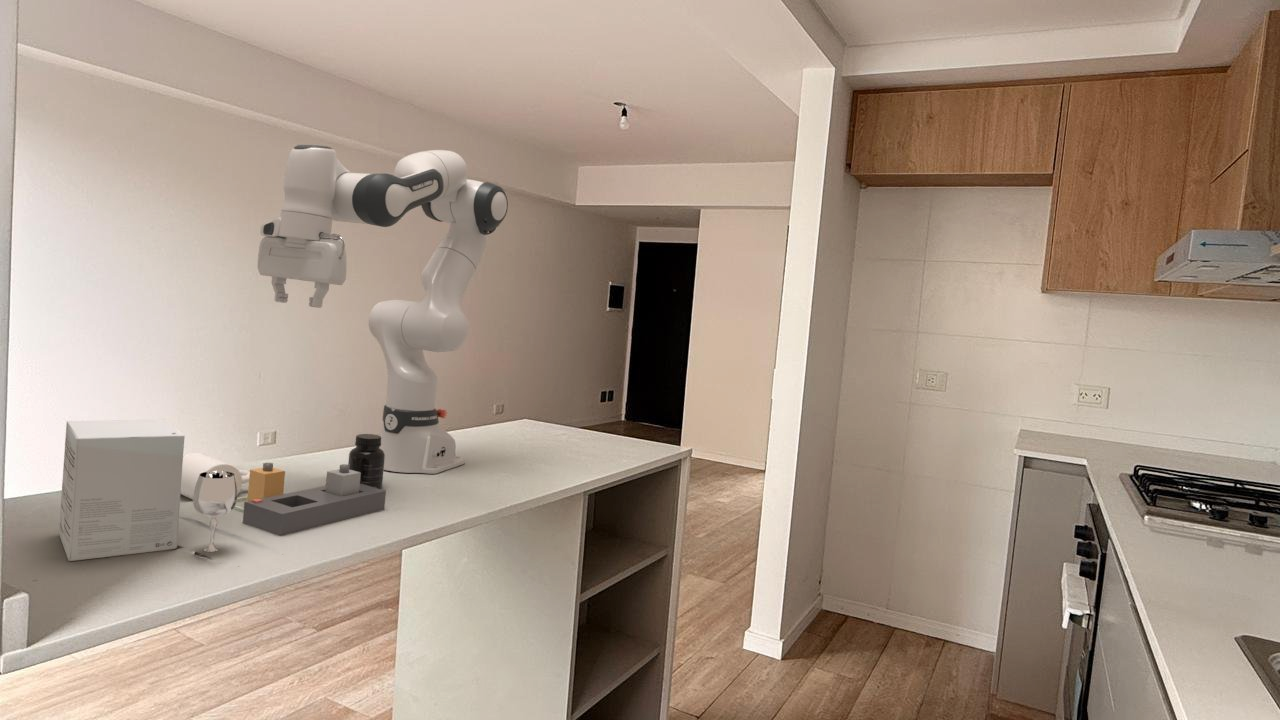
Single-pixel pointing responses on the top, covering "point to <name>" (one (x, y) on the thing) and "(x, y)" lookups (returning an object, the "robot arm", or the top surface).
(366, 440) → the supplement bottle
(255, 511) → the strip
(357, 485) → the gray knobbed block
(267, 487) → the plug
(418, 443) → the robot arm
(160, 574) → the top surface
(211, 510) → the wineglass
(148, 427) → the supplement box
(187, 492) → the mug
